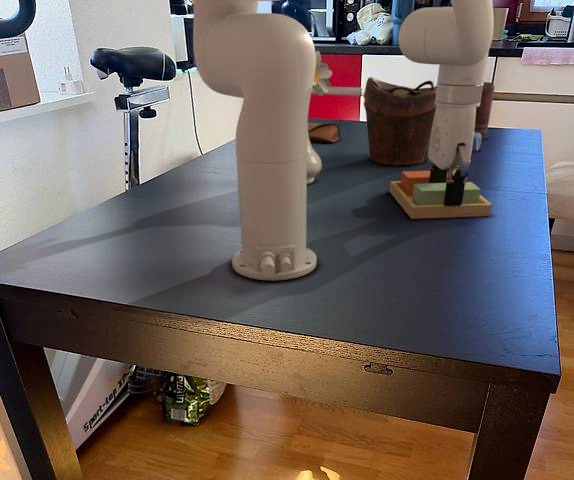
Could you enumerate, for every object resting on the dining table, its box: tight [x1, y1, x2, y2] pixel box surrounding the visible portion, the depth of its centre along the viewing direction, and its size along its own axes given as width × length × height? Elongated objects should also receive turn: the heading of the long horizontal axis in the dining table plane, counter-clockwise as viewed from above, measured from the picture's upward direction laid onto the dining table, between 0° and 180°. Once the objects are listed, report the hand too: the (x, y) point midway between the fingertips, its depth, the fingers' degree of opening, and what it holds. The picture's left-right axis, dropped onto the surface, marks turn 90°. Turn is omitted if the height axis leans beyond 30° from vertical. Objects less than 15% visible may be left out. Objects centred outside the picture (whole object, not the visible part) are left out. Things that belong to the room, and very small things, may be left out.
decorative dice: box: [471, 132, 482, 153], centre depth 148 cm, size 4×4×4 cm
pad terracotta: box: [400, 170, 456, 196], centre depth 114 cm, size 5×11×4 cm, turn 94°
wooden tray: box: [389, 180, 493, 220], centre depth 110 cm, size 18×15×2 cm
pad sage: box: [412, 181, 482, 206], centre depth 106 cm, size 5×11×4 cm, turn 94°
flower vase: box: [307, 50, 333, 185], centre depth 119 cm, size 13×18×25 cm
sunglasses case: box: [308, 122, 341, 143], centre depth 163 cm, size 18×7×7 cm
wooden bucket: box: [363, 76, 437, 167], centre depth 136 cm, size 18×20×18 cm
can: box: [474, 81, 495, 141], centre depth 158 cm, size 6×6×14 cm
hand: (444, 197), depth 107 cm, fingers open, 9 cm apart
